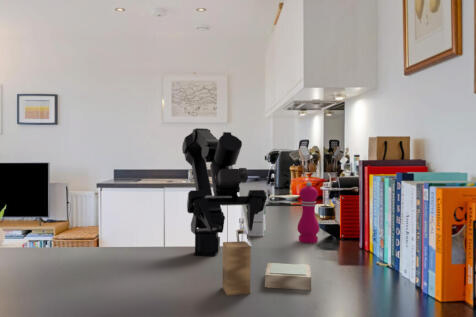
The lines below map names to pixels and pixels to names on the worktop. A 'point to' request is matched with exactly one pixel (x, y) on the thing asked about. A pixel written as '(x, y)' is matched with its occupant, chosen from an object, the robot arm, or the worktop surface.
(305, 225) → the pepper mill
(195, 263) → the worktop surface
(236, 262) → the oak block
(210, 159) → the robot arm
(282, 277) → the plinth
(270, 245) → the worktop surface
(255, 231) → the syrup box
